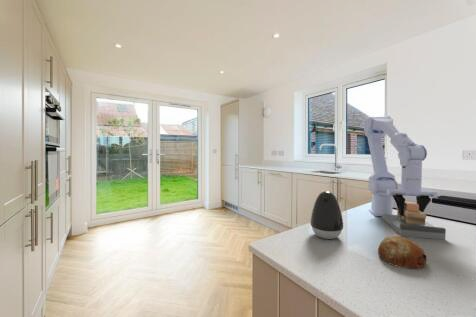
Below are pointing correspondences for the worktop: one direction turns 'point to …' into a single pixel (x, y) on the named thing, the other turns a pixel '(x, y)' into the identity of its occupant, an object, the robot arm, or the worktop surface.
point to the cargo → (411, 206)
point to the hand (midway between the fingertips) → (410, 215)
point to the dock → (414, 228)
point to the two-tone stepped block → (413, 217)
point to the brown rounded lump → (402, 252)
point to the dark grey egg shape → (326, 216)
